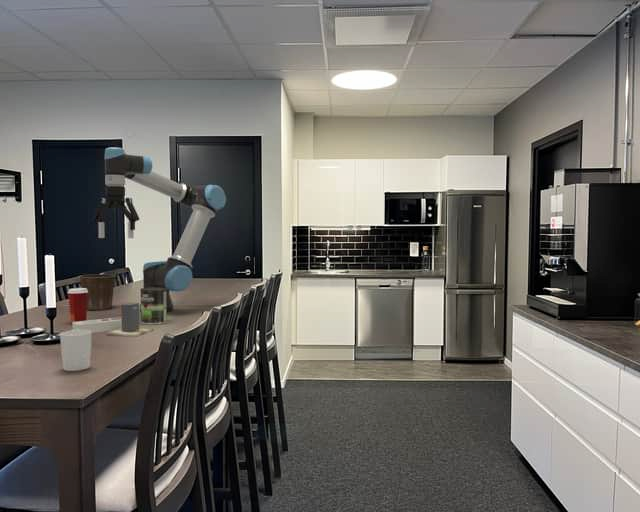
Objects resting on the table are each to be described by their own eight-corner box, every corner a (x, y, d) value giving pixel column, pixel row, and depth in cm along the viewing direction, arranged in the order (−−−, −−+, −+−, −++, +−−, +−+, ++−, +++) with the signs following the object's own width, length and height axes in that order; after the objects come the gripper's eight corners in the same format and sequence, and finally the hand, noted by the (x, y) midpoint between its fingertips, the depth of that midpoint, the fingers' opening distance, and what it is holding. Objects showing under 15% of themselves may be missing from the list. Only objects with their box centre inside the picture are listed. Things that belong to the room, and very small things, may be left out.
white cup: (67, 364, 146) (66, 329, 146) (96, 364, 147) (95, 329, 146) (55, 372, 138) (55, 335, 138) (86, 371, 139) (85, 335, 139)
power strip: (121, 326, 204) (121, 315, 203) (127, 329, 198) (127, 317, 198) (72, 332, 192) (72, 320, 192) (77, 335, 187) (77, 323, 187)
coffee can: (155, 325, 205) (155, 290, 204) (135, 323, 209) (134, 289, 208) (172, 321, 214) (171, 287, 214) (152, 319, 218) (152, 286, 218)
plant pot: (122, 308, 247) (122, 275, 246) (88, 312, 235) (87, 277, 234) (107, 305, 258) (107, 273, 257) (74, 308, 246) (73, 275, 245)
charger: (129, 328, 194) (129, 302, 193) (139, 329, 193) (138, 303, 192) (121, 331, 189) (121, 304, 188) (131, 332, 188) (131, 305, 187)
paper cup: (92, 321, 213) (91, 288, 212) (82, 324, 206) (81, 290, 205) (74, 321, 214) (74, 287, 213) (63, 324, 206) (63, 289, 206)
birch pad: (125, 328, 198) (125, 326, 198) (153, 330, 195) (153, 328, 195) (105, 335, 186) (105, 332, 186) (135, 336, 183) (135, 334, 183)
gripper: (82, 185, 208) (83, 238, 210) (137, 184, 203) (137, 238, 204) (94, 187, 216) (95, 237, 217) (147, 186, 210) (148, 238, 211)
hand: (116, 238), depth 210 cm, fingers open, 13 cm apart
